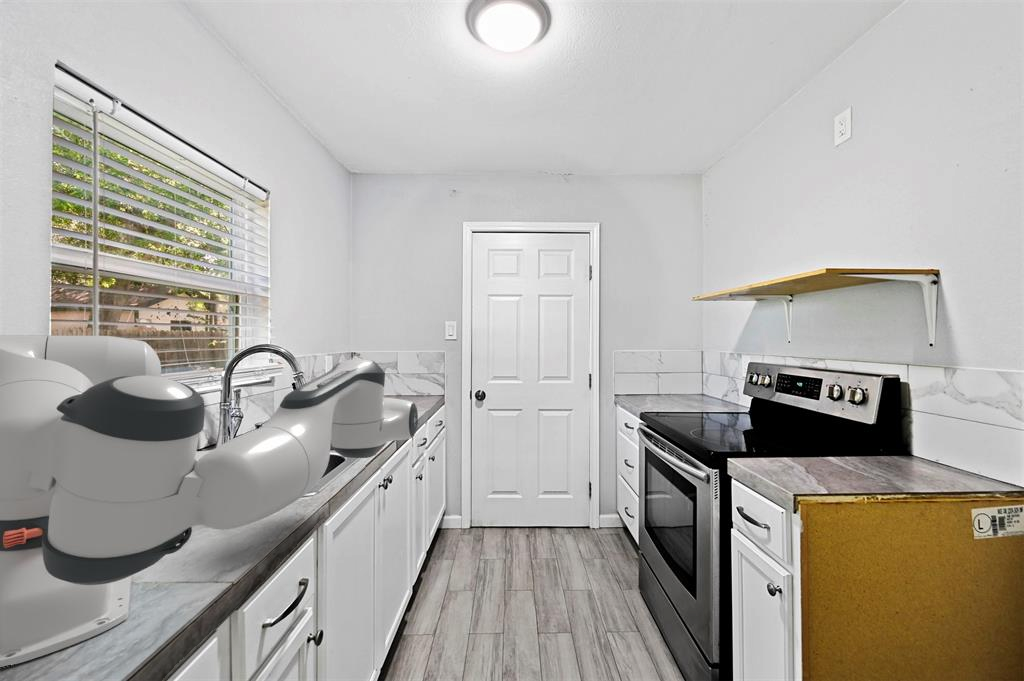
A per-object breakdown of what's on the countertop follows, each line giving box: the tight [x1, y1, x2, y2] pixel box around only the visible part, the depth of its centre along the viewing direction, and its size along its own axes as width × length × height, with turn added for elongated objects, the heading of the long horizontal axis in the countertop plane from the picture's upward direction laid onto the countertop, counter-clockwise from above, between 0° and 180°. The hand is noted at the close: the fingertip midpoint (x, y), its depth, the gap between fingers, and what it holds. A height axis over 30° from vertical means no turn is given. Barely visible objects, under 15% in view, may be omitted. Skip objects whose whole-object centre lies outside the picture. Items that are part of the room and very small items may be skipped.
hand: (289, 415), depth 99 cm, fingers open, 6 cm apart
